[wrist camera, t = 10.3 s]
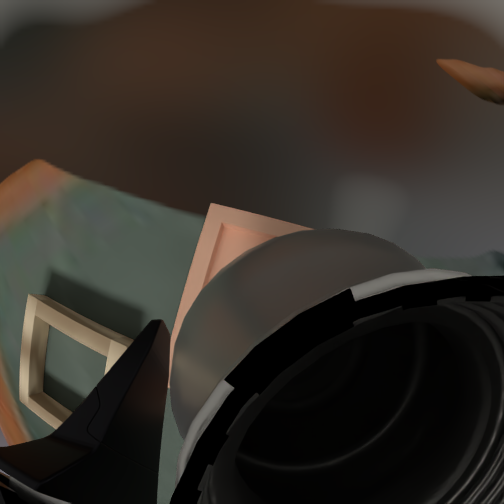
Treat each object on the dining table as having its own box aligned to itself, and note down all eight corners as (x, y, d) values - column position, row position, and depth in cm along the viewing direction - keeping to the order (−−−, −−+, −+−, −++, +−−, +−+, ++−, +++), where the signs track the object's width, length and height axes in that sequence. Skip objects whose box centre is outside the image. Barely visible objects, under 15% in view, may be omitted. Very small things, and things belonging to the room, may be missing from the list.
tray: (335, 421, 19) (341, 430, 17) (168, 377, 20) (159, 384, 18) (382, 256, 21) (392, 252, 19) (215, 211, 22) (211, 202, 20)
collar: (121, 451, 19) (109, 462, 16) (34, 395, 20) (19, 400, 17) (141, 342, 21) (127, 346, 18) (45, 295, 22) (28, 293, 19)
